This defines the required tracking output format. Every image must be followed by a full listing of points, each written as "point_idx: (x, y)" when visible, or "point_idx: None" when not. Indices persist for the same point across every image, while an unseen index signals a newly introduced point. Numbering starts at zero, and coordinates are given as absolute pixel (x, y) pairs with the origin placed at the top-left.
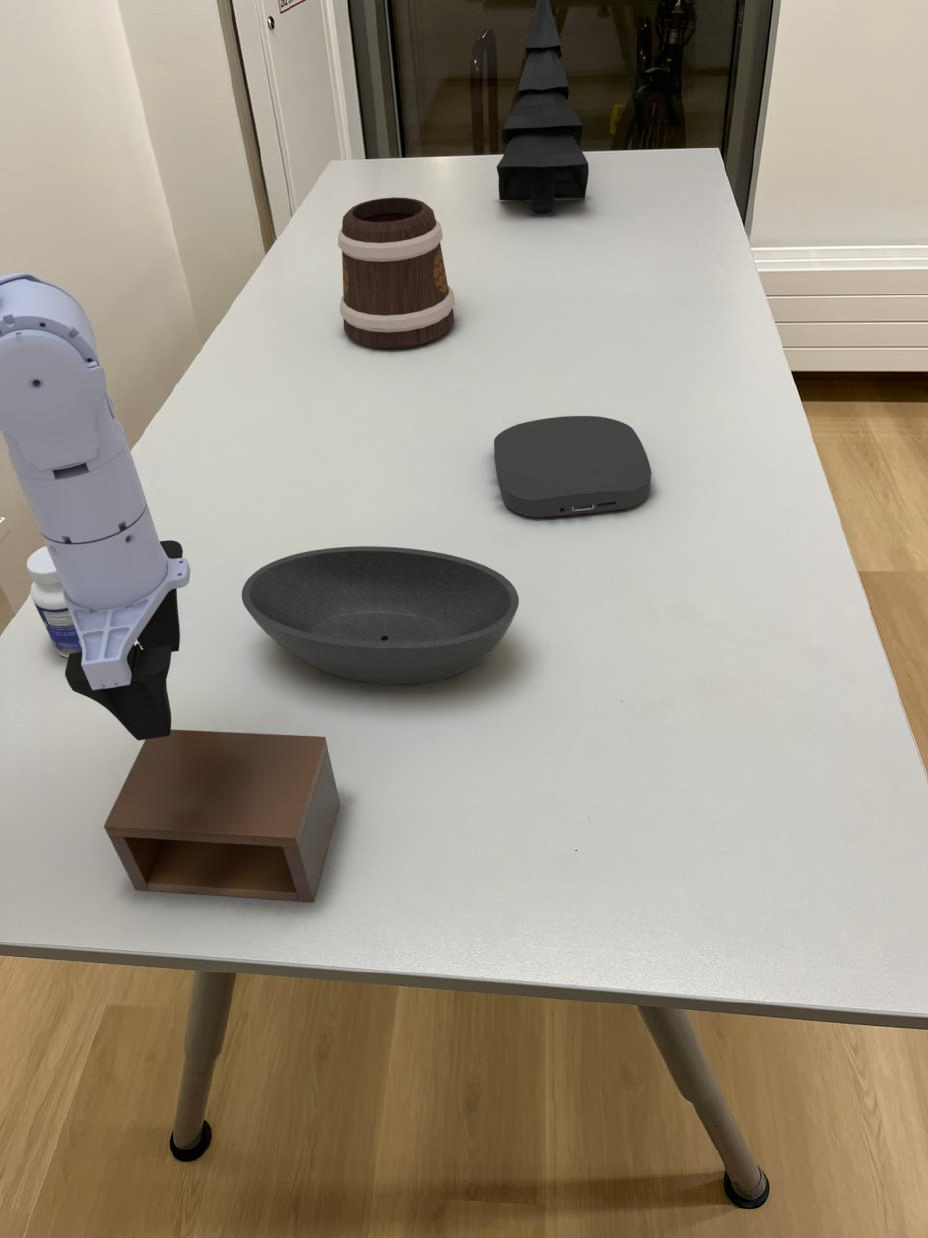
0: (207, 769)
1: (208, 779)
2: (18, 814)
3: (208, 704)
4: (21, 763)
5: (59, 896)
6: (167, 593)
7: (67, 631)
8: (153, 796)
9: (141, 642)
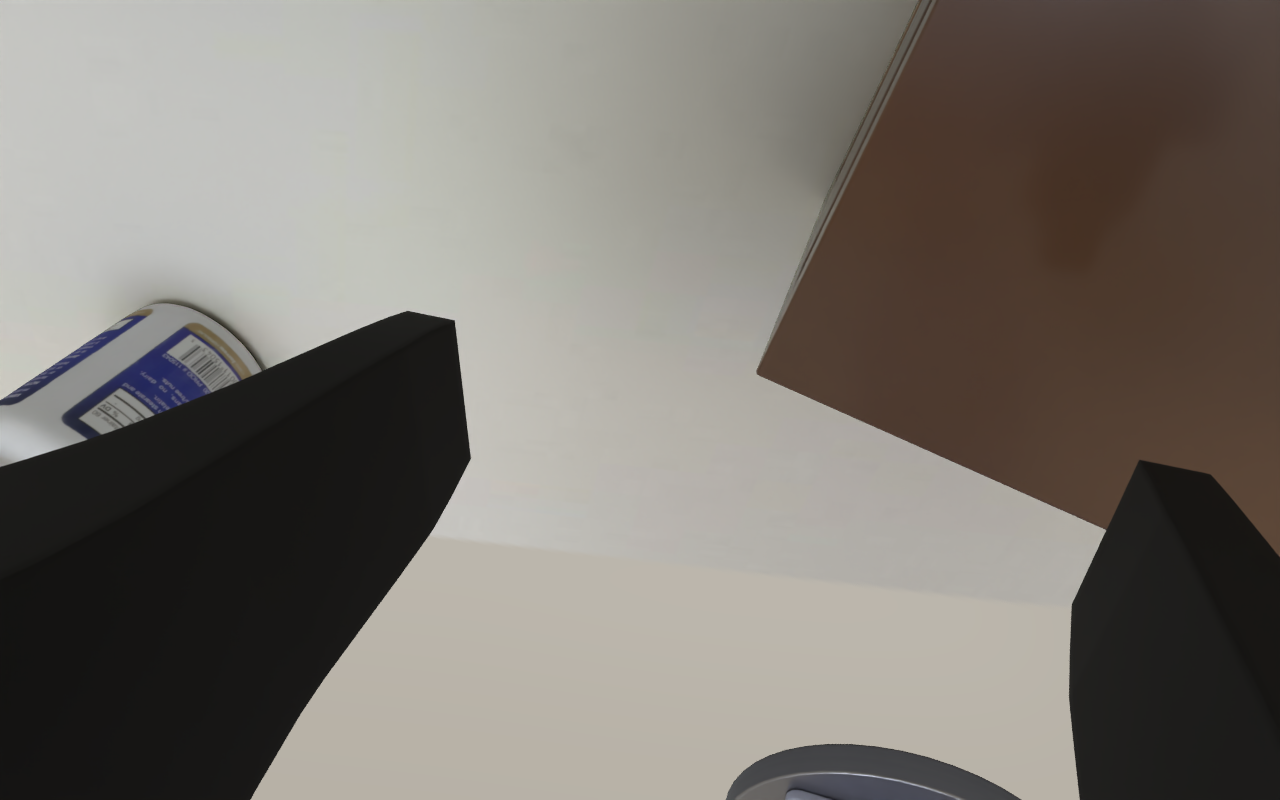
0: (1163, 170)
1: (1245, 172)
2: (755, 559)
3: (453, 66)
4: (595, 536)
5: (1078, 519)
6: (93, 598)
7: None
8: (1196, 418)
9: (424, 530)
